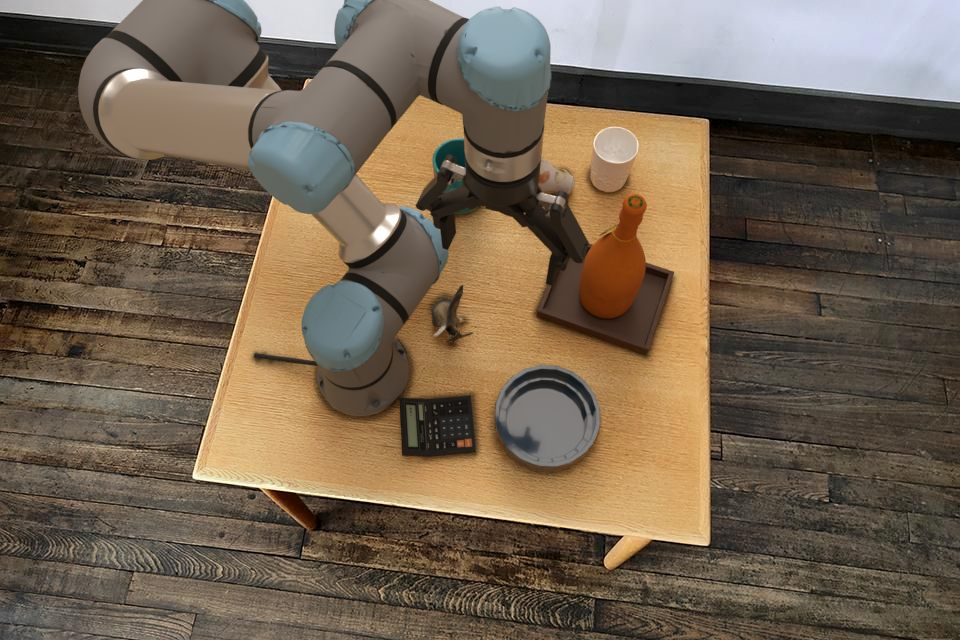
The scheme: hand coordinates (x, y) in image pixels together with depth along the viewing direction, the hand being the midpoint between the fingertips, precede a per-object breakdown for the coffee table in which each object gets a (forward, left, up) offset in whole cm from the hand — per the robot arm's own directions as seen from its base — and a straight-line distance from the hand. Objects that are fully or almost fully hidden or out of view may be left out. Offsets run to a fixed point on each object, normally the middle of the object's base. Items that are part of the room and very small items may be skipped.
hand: (500, 258), depth 93 cm
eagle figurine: (-10, +4, -37) cm, 38 cm away
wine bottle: (+13, +18, -36) cm, 43 cm away
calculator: (-5, -14, -37) cm, 40 cm away
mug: (-4, +36, -37) cm, 52 cm away
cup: (-18, +27, -37) cm, 49 cm away
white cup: (+6, +42, -37) cm, 56 cm away
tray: (+13, +18, -37) cm, 43 cm away
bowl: (+11, -7, -37) cm, 39 cm away
